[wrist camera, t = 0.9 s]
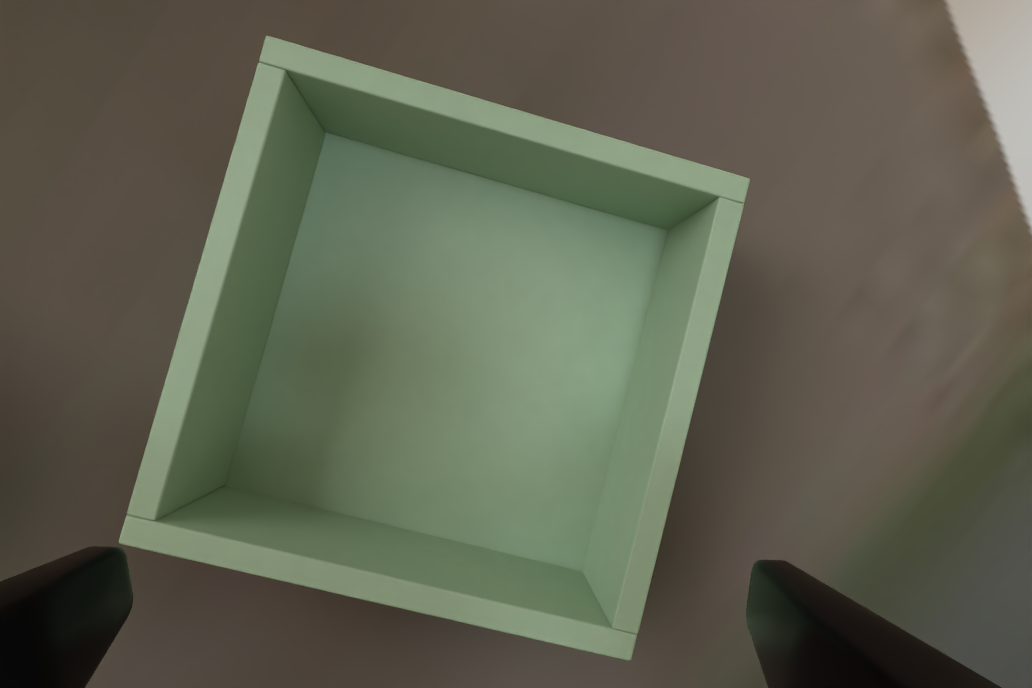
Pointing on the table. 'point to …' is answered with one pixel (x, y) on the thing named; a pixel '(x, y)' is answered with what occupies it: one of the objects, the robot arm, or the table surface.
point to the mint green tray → (438, 355)
